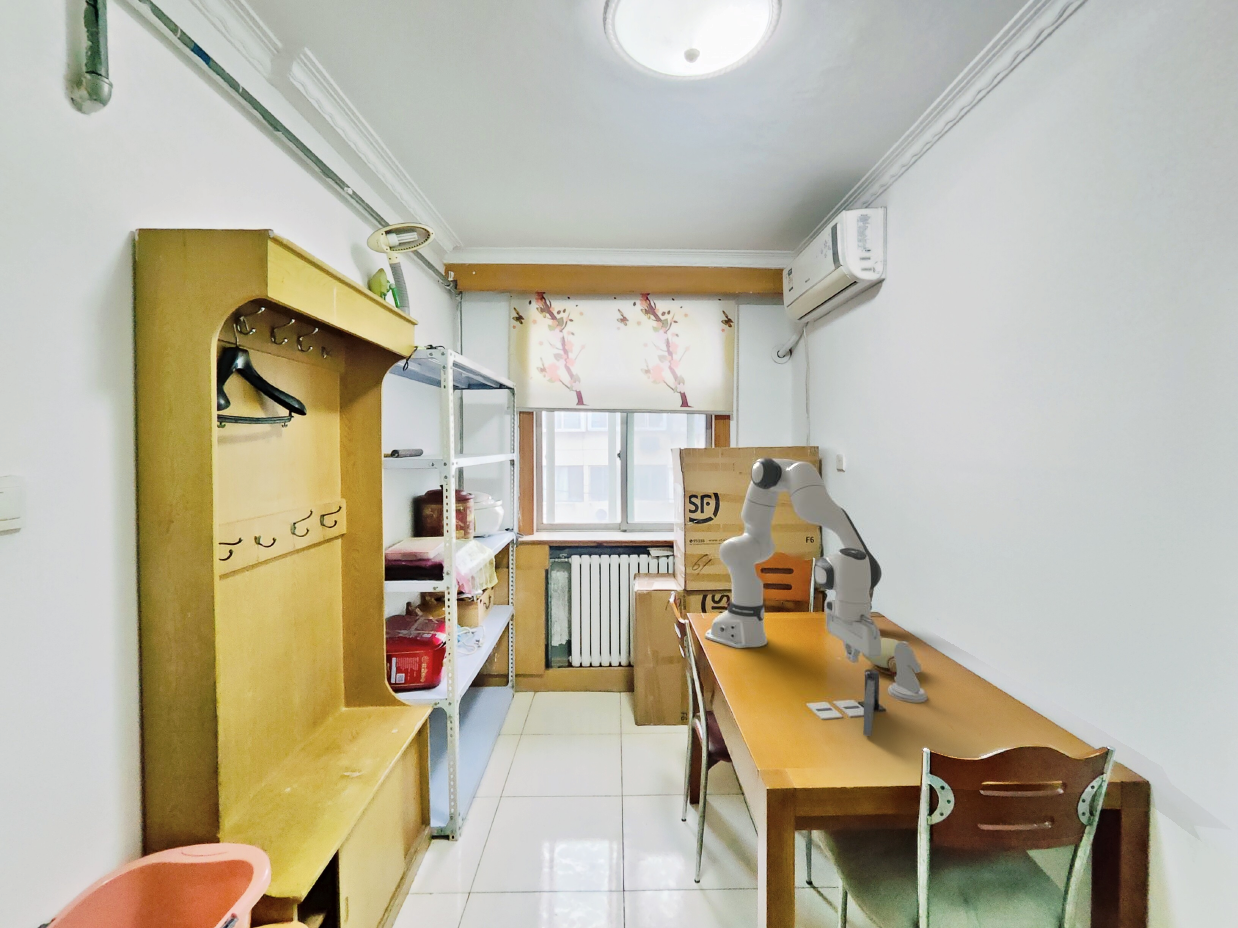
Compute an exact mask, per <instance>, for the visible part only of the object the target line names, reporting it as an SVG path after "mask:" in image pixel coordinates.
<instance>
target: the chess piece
mask: <svg viewBox="0 0 1238 928" xmlns="http://www.w3.org/2000/svg"><path fill="white" fill-rule="evenodd" d="M894 651H895V652H894V658H895V663H896V667H897V675H895V676H893V677H894V681H895V682H893V683H891V685H889V686H888V689H887V691H888V694H889V695H890V696H892V697H893V698H895V699H896V700H898V701H899V700H900V701H903V702H907V703H924V702H926V701H927V699H928V696H927V693H926V691H925V690H924V689H923V688H921V683H920V681H919V680H918V677H917V676H916V674H919V673H921V672H922V665H921V663H919V661H918V659H917V658H916V655H915V652H914V650H913V649H912V647H911V646H909V642H907V641H905V640H903V641H900V642H898V644H897V645H896V647H895V650H894Z"/></svg>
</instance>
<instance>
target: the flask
mask: <svg viewBox="0 0 1238 928" xmlns="http://www.w3.org/2000/svg"><path fill="white" fill-rule="evenodd" d="M898 642H901V641H899V640H897V639H894V638H886V637H881V654H880V656H876V657H868V656H866V655H864V654H863V653H861V655H862V657H864V658H865V659H866V660H867V661H868V662H870V663H871V664H873V666H874V668H875V669H877V670H878V672H882V673H884V674H887V675H891V676H896V675H897V667H896V663H895V658H894V652H895V651H894V650H895V647H896V645H897V644H898ZM882 668H884V669H888V670H889V671H886V670H884V669H882Z"/></svg>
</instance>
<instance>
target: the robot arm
mask: <svg viewBox="0 0 1238 928" xmlns="http://www.w3.org/2000/svg"><path fill="white" fill-rule="evenodd" d="M750 478H751V481H750V483H749V486H748V488H747V491H746V495H745V497H744V502H743V505H742V509H741V513H740V518H741V521H742V522H743V524H744V532H743V534H742V535H738V536H733V537H730V538H728V539H726V540H724V542H722V543H721V544H720V546H719V549H718V556H719V559H720V561H721V562H722V564H723V565H724V566H726V568H727V570H728V573H729V577H730V580H731V599H730V600H729V601H728V602H726V604H725V608H726V609H727V610H725V611H723V612H722V613H720V614H719V615H718V616H716V617H715V618H714V619H713V621H712V622H711V628H710V629H708V630H707V631H706V632H705V633H704V634H705V635H704V638H705V639H706V640H711V641H714V642H716V643H719V644H723V645H726V646H728V647H729V646H730V647H732V648H735V649H743V648H759V647H763V646H765V645H767V644H768V639H767V636H766V631H765V624H764V619H765V603H764V598H763V597H764V583H763V581H762V579H761V578H760V577H758V574H757V570H756V564H760V563H763V562H764V563H765V562H766V561H768V560H769V559H770V558H772V557H773V555H774V554H775V550H776V543H775V542H774V539H773V538H772V524H773V520H774V517H775V516H774V515H775V512H776V508H777V505H778V501H779V497H780V494H781V493H782V492H783V493H784V492H788V495H789V498H790V501H791V502H790V503H791V506H792V508H793V510H794V512H795V513H796V515H797V516H798V517H799V519H802V520H803V521H805V522H807V523H808V524H809V523H810V524H814V525H816V526H820V527H823V528H826V529H828V530H830V531H832V532H834V533H835V534H836V535H837V537H838V538H839V540H840V541H841V543H842V545H843V548H840V549H838V551H837V552H836V553H834V554H830V555H824V556H820V557H819V558H818V559H817V560H816V562H815V563H814V565H813V579H814V581H815V583H816V584H817V585H818V586H819V587H820V588H821V589H823V590H829V591H835V597H834V599H832V600H831V599H830V600H826V601H825V604H824V606H825V608H826V612H825V627H826V630H827V632H828V633H829V634H830V635H832V636H834V637H836V638H837V639H839V640H841V641H842V642H843V647H844V650H845V658H846V659H847V660H849V662H852V663H853V664H855V663H858V662H859V656H860V654H862V653H863V654H864V655H866V656H868V657H876V656H880V654H881V638H882V636H881V632H880V629H879V627H878V625H877V624H876V622H875V620H873V619H872V617H871V615H872V614H871V613H872V612H871V611H872V609H871V606H872V602H871V599H870V595H869V590H872V589H873V588H874V589H875V588H876V587H877V586H878V584H879V583H880V581H881V579H882V568H881V566H880V564H879V562H878V560H877V559H876V558H875V557H874V555H873V554H872V553H871V552H870V551H869V548H868V546H867V545H866V543H865V542H864V540H863V538H862V536H861V534H860V533H859V531H858V529H857V527H856V526H855V525H854V522H853V521H852V519H851V518H850V516H849V514H848V512H847V511H846V510H845V509H844V508H842V507H841V506H839V505H838V504H837V503H836V502H835V501H834V500H833V498H831V496H830V494H829V493H828V491H827V488H826V486H825V483H824V481H823V479H822V477H821V475H820V473H819V472H818V470H817V468H816V467H815V466H814V464H812V463H810V462H807V461H799V460H794V459H790V458H771V457H761V458H758V459H757V460H756V461H755V462H754V463H753V464H752V466H751V471H750Z"/></svg>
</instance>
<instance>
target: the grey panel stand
mask: <svg viewBox="0 0 1238 928" xmlns="http://www.w3.org/2000/svg"><path fill="white" fill-rule="evenodd" d="M863 701H864V716H863V735H864V736H869V737H871V736H872V729H873V723H874V714H875V712H874V708H878V707H879V704H880V671H877V670H874V669H866V670H864V700H863Z"/></svg>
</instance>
